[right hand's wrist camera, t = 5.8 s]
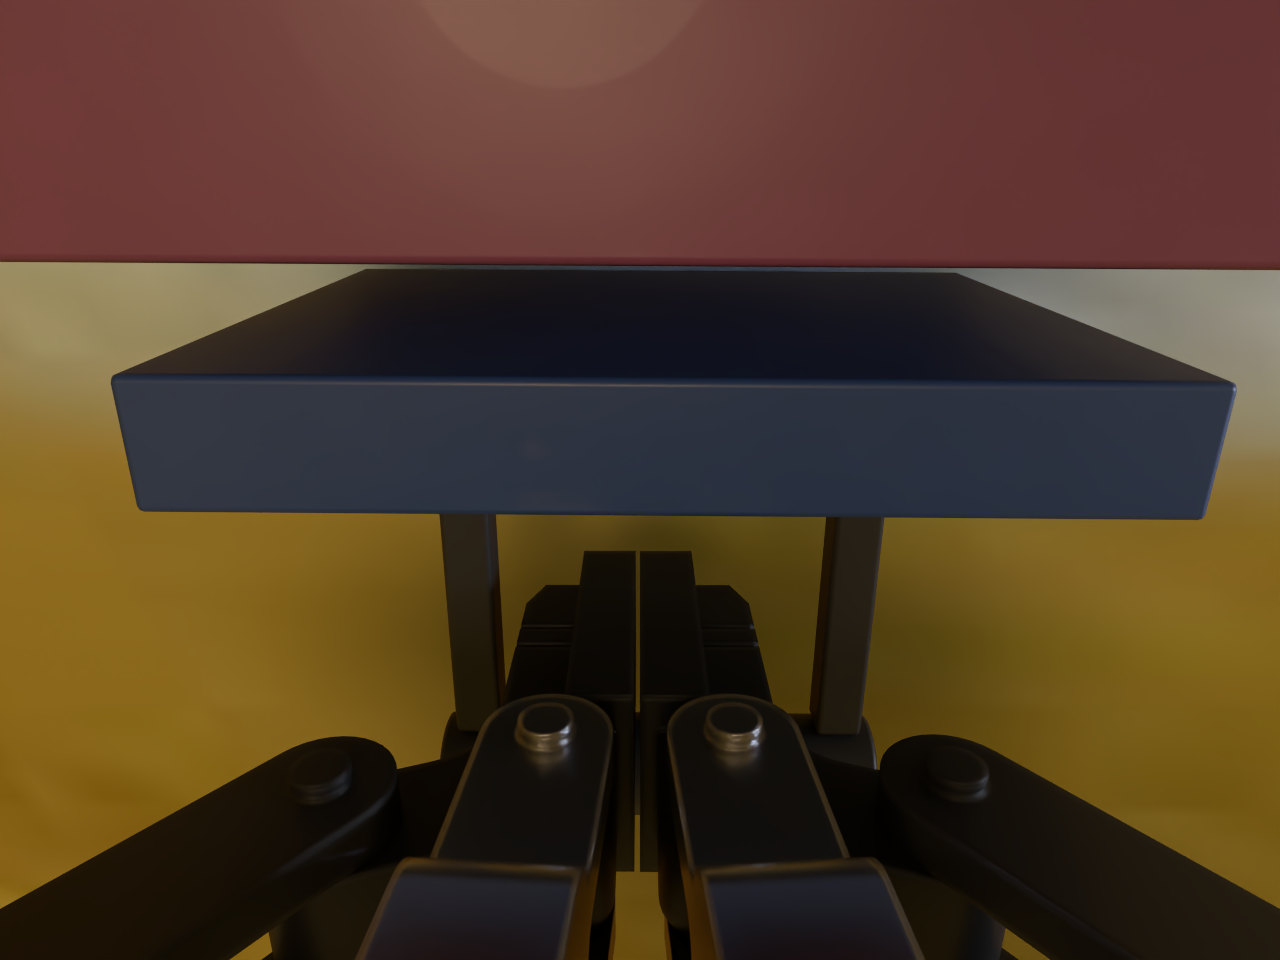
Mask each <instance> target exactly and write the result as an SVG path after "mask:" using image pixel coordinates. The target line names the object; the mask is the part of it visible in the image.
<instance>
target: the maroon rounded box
mask: <svg viewBox="0 0 1280 960" xmlns="http://www.w3.org/2000/svg"><path fill="white" fill-rule="evenodd" d="M0 262H110V263H266V264H422V265H578V266H734V267H890V268H1046V269H1202V270H1280V0H0Z"/></svg>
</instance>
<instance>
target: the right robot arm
mask: <svg viewBox="0 0 1280 960" xmlns="http://www.w3.org/2000/svg"><path fill="white" fill-rule="evenodd" d="M635 713H636V553H635V551H584V557H583V564H582V571H581V578H580V585H546V586H545V587H544V588H543V589H542V590H541V591H539V592H538V593H537V594H536V595H535V596H534V597H533V598H532V599H531V600H530V601H529V602H528V603H527V604H526V608H525V612H524V616H523V620H522V624H521V629H520V632H519V636H518V640H517V647H516V648H515V652H514V656H513V660H512V664H511V668H510V672H509V676H508V680H507V684H506V688H505V692H504V696H503V700H502V704H501V708H499V709H498V710H496V711H495V712H494V713H493V714H491V715H490V716H489V717H488V719H487V720H486V721H485V722H484V724H483V726H482V727H481V729H480V732H479V734H478V737H477V739H476V742H475V744H473V745H472V746H470V747H468V748H467V749H465V750H463V751H461V752H459V753H457V754H454V755H451V756H449V757H446V758H443V759H439V760H436V761H432V762H428V763H423V764H419V765H414V766H409V767H405V768H400V769H397V766H396V762H395V759H394V757H393V755H392V754H391V753H390V751H389V750H388V749H386V748H385V747H384V746H383V745H381V744H379V743H377V742H375V741H372V740H368V739H365V738H359V737H349V736H340V737H329V738H323V739H317V740H314V741H310V742H307V743H304V744H301V745H298V746H296V747H293V748H291V749H289V750H287V751H285V752H283V753H281V754H279V755H277V756H276V757H274V758H272V759H270V760H268V761H267V762H265V763H263V764H261V765H259V766H258V767H256V768H254V769H252V770H250V771H248V772H247V773H245V774H243V775H241V776H239V777H238V778H236V779H234V780H232V781H230V782H229V783H227V784H225V785H223V786H221V787H220V788H218V789H216V790H214V791H212V792H211V793H209V794H207V795H205V796H203V797H202V798H200V799H198V800H196V801H194V802H192V803H191V804H189V805H187V806H185V807H183V808H182V809H180V810H178V811H176V812H174V813H173V814H171V815H169V816H167V817H165V818H164V819H162V820H160V821H158V822H156V823H155V824H153V825H151V826H149V827H147V828H146V829H144V830H142V831H140V832H138V833H137V834H135V835H133V836H131V837H129V838H127V839H126V840H124V841H122V842H120V843H118V844H117V845H115V846H113V847H111V848H109V849H108V850H106V851H104V852H102V853H100V854H99V855H97V856H95V857H93V858H91V859H90V860H88V861H86V862H84V863H82V864H81V865H79V866H77V867H75V868H73V869H71V870H70V871H68V872H66V873H64V874H62V875H61V876H59V877H57V878H55V879H53V880H52V881H50V882H48V883H46V884H44V885H43V886H41V887H39V888H37V889H35V890H34V891H32V892H30V893H28V894H26V895H25V896H23V897H21V898H19V899H17V900H16V901H14V902H12V903H10V904H8V905H6V906H5V907H3V908H1V909H0V960H229V959H231V958H232V957H234V956H235V955H237V954H238V953H239V952H241V951H242V950H244V949H245V948H246V947H248V946H249V945H251V944H252V943H253V942H255V941H256V940H258V939H259V938H260V937H262V936H263V935H265V934H266V933H268V932H269V937H270V942H271V947H272V952H271V953H270V954H269V955H267V956H266V957H265V958H263V959H262V960H613V953H614V945H615V932H616V924H615V886H616V871H634V837H635ZM640 872H658V889H659V902H660V906H661V909H662V912H663V914H664V915H665V924H664V933H665V945H666V953H667V960H1018V959H1017V958H1015V957H1014V956H1013V955H1011V954H1010V953H1009V952H1007V951H1006V950H1004V949H1003V948H1002V943H1003V938H1004V933H1005V928H1007V929H1008V930H1010V931H1011V932H1012V933H1014V934H1015V935H1017V936H1018V937H1019V938H1021V939H1022V940H1024V941H1025V942H1027V943H1028V944H1029V945H1031V946H1032V947H1034V948H1035V949H1036V950H1038V951H1039V952H1041V953H1042V954H1043V955H1045V956H1046V957H1048V958H1049V959H1050V960H1280V909H1279V908H1277V907H1275V906H1273V905H1272V904H1270V903H1268V902H1266V901H1264V900H1263V899H1261V898H1259V897H1257V896H1255V895H1254V894H1252V893H1250V892H1248V891H1246V890H1245V889H1243V888H1241V887H1239V886H1237V885H1236V884H1234V883H1232V882H1230V881H1228V880H1227V879H1225V878H1223V877H1221V876H1219V875H1218V874H1216V873H1214V872H1212V871H1210V870H1208V869H1207V868H1205V867H1203V866H1201V865H1199V864H1198V863H1196V862H1194V861H1192V860H1190V859H1189V858H1187V857H1185V856H1183V855H1181V854H1180V853H1178V852H1176V851H1174V850H1172V849H1171V848H1169V847H1167V846H1165V845H1163V844H1162V843H1160V842H1158V841H1156V840H1154V839H1152V838H1151V837H1149V836H1147V835H1145V834H1143V833H1142V832H1140V831H1138V830H1136V829H1134V828H1133V827H1131V826H1129V825H1127V824H1125V823H1124V822H1122V821H1120V820H1118V819H1116V818H1115V817H1113V816H1111V815H1109V814H1107V813H1106V812H1104V811H1102V810H1100V809H1098V808H1097V807H1095V806H1093V805H1091V804H1089V803H1087V802H1086V801H1084V800H1082V799H1080V798H1078V797H1077V796H1075V795H1073V794H1071V793H1069V792H1068V791H1066V790H1064V789H1062V788H1060V787H1059V786H1057V785H1055V784H1053V783H1051V782H1050V781H1048V780H1046V779H1044V778H1042V777H1041V776H1039V775H1037V774H1035V773H1033V772H1031V771H1030V770H1028V769H1026V768H1024V767H1022V766H1021V765H1019V764H1017V763H1015V762H1013V761H1012V760H1010V759H1008V758H1006V757H1004V756H1003V755H1001V754H999V753H997V752H995V751H993V750H991V749H989V748H987V747H985V746H983V745H981V744H978V743H975V742H973V741H970V740H966V739H962V738H959V737H953V736H947V735H935V734H933V735H919V736H912V737H909V738H906V739H902V740H900V741H898V742H896V743H894V744H893V745H892V746H891V747H889V748H888V749H887V751H886V752H885V753H884V755H883V757H882V759H881V762H880V770H876V769H872V768H867V767H863V766H858V765H854V764H849V763H845V762H841V761H837V760H833V759H830V758H827V757H824V756H822V755H819V754H817V753H815V752H813V751H811V750H809V749H807V747H806V744H805V742H804V739H803V737H802V734H801V732H800V729H799V727H798V726H797V724H796V722H795V721H794V720H793V719H792V717H791V716H790V715H789V714H787V713H786V712H785V711H784V710H782V709H781V708H779V707H777V706H776V705H774V704H773V703H772V699H771V694H770V690H769V686H768V682H767V678H766V674H765V669H764V665H763V661H762V657H761V653H760V649H759V647H758V640H757V636H756V632H755V629H754V624H753V620H752V615H751V611H750V607H749V603H748V602H746V601H745V600H744V599H743V598H742V597H741V596H740V595H739V594H738V593H737V592H736V591H735V590H734V589H733V588H732V587H730V586H729V585H695V577H694V569H693V561H692V554H691V551H640Z"/></svg>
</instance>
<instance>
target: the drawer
mask: <svg viewBox="0 0 1280 960" xmlns="http://www.w3.org/2000/svg"><path fill="white" fill-rule="evenodd" d="M111 386H112V391H113V395H114V400H115V405H116V409H117V414H118V419H119V423H120V428H121V433H122V437H123V442H124V447H125V451H126V456H127V461H128V465H129V470H130V475H131V479H132V484H133V489H134V493H135V498H136V502H137V506H138V508H139V509H140V510H142V511H153V512H280V513H406V514H440V525H441V537H442V549H443V561H444V573H445V585H446V597H447V609H448V622H449V634H450V646H451V658H452V670H453V682H454V694H455V706H456V712H453V713H452V714H451V716H450V718H449V720H448V723H447V725H446V728H445V732H444V737H443V742H442V749H441V758H440V759H443V758H446V757H449V756H451V755H454V754H457V753H459V752H461V751H463V750H465V749H467V748H468V747H470V746H472V745H473V744H475V742H476V739H477V737H478V734H479V732H480V729H481V727H482V726H483V724H484V722H485V721H486V720H487V719H488V717H489V716H490V715H491V714H493V713H494V712H495V711H496V710H498V709H499V708H501V704H502V700H503V696H504V692H505V688H506V683H505V666H504V648H503V631H502V614H501V596H500V579H499V562H498V544H497V527H496V514H532V515H659V516H785V517H826V526H825V538H824V549H823V560H822V572H821V583H820V594H819V606H818V617H817V629H816V640H815V651H814V663H813V674H812V685H811V697H810V708H809V709H810V713H811V714H789V715H790V716H791V717H792V719H793V720H794V721H795V722H796V724H797V726H798V727H799V729H800V732H801V734H802V737H803V739H804V742H805V744H806V747H807V749H809V750H811V751H813V752H815V753H817V754H819V755H822V756H824V757H827V758H830V759H833V760H837V761H841V762H845V763H849V764H854V765H858V766H863V767H867V768H872V769H876V770H877V761H876V752H875V746H874V741H873V737H872V733H871V730H870V727H869V725H868V722H867V721H866V719H865V718H864V717H863V716H862V709H863V700H864V691H865V683H866V674H867V665H868V656H869V647H870V639H871V630H872V621H873V612H874V603H875V595H876V586H877V577H878V568H879V559H880V551H881V542H882V533H883V524H884V517H912V518H1038V519H1164V520H1199V519H1202V518H1203V517H1204V515H1205V513H1206V509H1207V505H1208V501H1209V498H1210V494H1211V490H1212V486H1213V482H1214V478H1215V474H1216V470H1217V466H1218V462H1219V458H1220V454H1221V450H1222V447H1223V443H1224V439H1225V435H1226V431H1227V427H1228V423H1229V419H1230V415H1231V411H1232V407H1233V403H1234V399H1235V396H1236V392H1237V390H1236V385H1235V384H1234V383H1232V382H1230V381H1228V380H1225V379H1223V378H1220V377H1218V376H1215V375H1213V374H1210V373H1208V372H1205V371H1203V370H1200V369H1197V368H1195V367H1192V366H1190V365H1187V364H1185V363H1182V362H1180V361H1177V360H1175V359H1172V358H1170V357H1167V356H1165V355H1162V354H1160V353H1157V352H1154V351H1152V350H1149V349H1147V348H1144V347H1142V346H1139V345H1137V344H1134V343H1132V342H1129V341H1127V340H1124V339H1122V338H1119V337H1117V336H1114V335H1111V334H1109V333H1106V332H1104V331H1101V330H1099V329H1096V328H1094V327H1091V326H1089V325H1086V324H1084V323H1081V322H1079V321H1076V320H1074V319H1071V318H1068V317H1066V316H1063V315H1061V314H1058V313H1056V312H1053V311H1051V310H1048V309H1046V308H1043V307H1041V306H1038V305H1036V304H1033V303H1031V302H1028V301H1025V300H1023V299H1020V298H1018V297H1015V296H1013V295H1010V294H1008V293H1005V292H1003V291H1000V290H998V289H995V288H993V287H990V286H988V285H985V284H982V283H980V282H977V281H975V280H972V279H970V278H967V277H965V276H962V275H960V274H957V273H912V272H757V271H602V270H447V269H365V270H363V271H360V272H358V273H355V274H353V275H351V276H348V277H346V278H343V279H341V280H339V281H336V282H334V283H332V284H329V285H327V286H324V287H322V288H320V289H317V290H315V291H313V292H310V293H308V294H305V295H303V296H301V297H298V298H296V299H294V300H291V301H289V302H286V303H284V304H282V305H279V306H277V307H274V308H272V309H270V310H267V311H265V312H263V313H260V314H258V315H255V316H253V317H251V318H248V319H246V320H244V321H241V322H239V323H236V324H234V325H232V326H229V327H227V328H225V329H222V330H220V331H217V332H215V333H213V334H210V335H208V336H205V337H203V338H201V339H198V340H196V341H194V342H191V343H189V344H186V345H184V346H182V347H179V348H177V349H175V350H172V351H170V352H167V353H165V354H163V355H160V356H158V357H156V358H153V359H151V360H148V361H146V362H144V363H141V364H139V365H136V366H134V367H132V368H129V369H127V370H125V371H122V372H120V373H117V374H115V375H113V376H112V378H111ZM635 815H640V712H636V713H635Z"/></svg>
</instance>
